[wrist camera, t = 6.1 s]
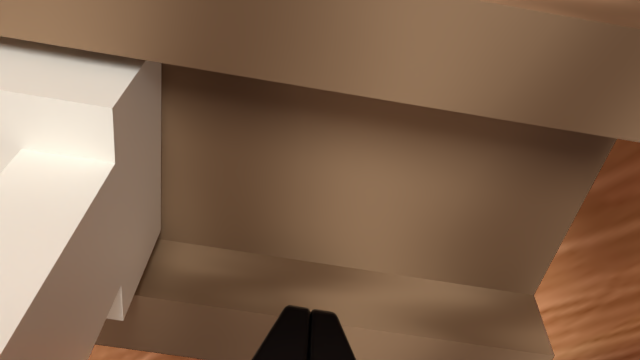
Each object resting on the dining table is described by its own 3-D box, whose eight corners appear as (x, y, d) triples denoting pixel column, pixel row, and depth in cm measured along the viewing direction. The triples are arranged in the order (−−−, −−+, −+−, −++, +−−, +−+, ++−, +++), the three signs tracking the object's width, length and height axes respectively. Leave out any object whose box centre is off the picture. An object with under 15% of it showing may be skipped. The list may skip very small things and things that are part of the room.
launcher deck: (598, -57, 15) (744, 47, 10) (478, 231, 21) (524, 404, 15) (-26, -172, 14) (-273, -133, 9) (27, 161, 20) (-102, 316, 14)
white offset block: (161, 38, 12) (-68, 362, 5) (160, 230, 15) (12, 588, 8) (12, 13, 12) (-408, 317, 5) (41, 212, 15) (-204, 563, 8)
